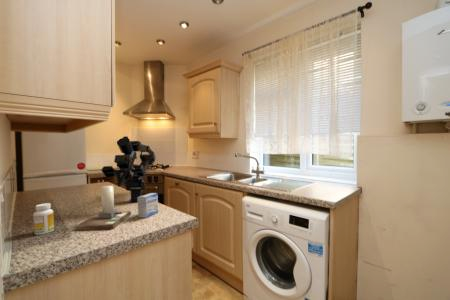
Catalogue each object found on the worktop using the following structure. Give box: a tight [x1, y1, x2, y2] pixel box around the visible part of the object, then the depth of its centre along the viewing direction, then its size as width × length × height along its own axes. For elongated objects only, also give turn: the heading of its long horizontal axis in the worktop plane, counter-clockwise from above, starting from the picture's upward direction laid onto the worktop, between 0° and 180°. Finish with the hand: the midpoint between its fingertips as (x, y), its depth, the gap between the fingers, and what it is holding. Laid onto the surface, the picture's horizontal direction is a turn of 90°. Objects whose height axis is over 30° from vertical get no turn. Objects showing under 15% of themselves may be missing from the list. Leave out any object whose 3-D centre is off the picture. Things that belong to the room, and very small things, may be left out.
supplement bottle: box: [33, 202, 55, 235], centre depth 76 cm, size 5×5×10 cm
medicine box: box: [137, 192, 159, 219], centre depth 92 cm, size 8×4×9 cm, turn 161°
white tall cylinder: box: [97, 185, 123, 218], centre depth 86 cm, size 5×8×12 cm, turn 92°
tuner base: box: [75, 210, 132, 231], centre depth 84 cm, size 16×13×2 cm
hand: (118, 186), depth 96 cm, fingers closed
